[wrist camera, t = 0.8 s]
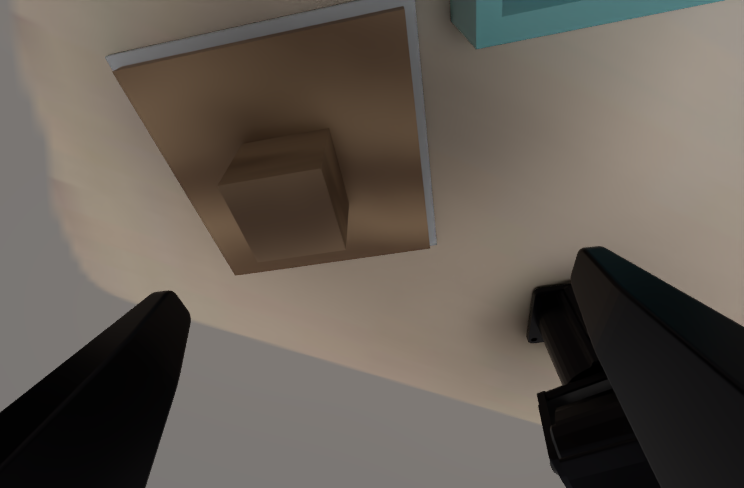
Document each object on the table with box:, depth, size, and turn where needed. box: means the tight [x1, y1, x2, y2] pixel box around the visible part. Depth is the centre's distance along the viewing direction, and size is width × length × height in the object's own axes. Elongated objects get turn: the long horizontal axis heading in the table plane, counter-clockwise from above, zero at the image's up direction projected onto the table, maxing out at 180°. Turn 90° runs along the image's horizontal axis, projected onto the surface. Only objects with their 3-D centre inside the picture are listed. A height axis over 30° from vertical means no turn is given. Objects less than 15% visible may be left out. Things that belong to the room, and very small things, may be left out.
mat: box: [105, 0, 437, 246], centre depth 20 cm, size 14×14×1 cm
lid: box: [112, 6, 430, 275], centre depth 18 cm, size 13×13×5 cm
